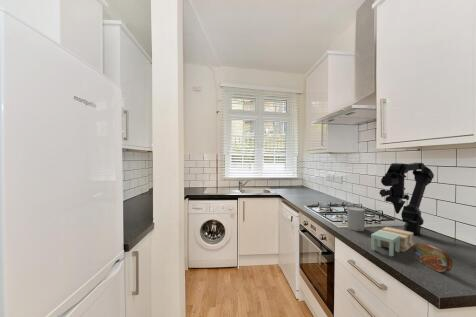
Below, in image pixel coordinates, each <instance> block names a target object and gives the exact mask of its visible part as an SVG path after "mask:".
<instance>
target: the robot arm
mask: <svg viewBox="0 0 476 317" xmlns="http://www.w3.org/2000/svg"><path fill="white" fill-rule="evenodd" d="M410 171H412V174H413V176H414V177H413V178H414V180H415V184H414V185H415V186H414V188H413V191H412V194H411V196H409V195H408V194H405V190H406V187H405V178H407V175H406V174H407V173H408V172H410ZM434 177H435V175H434V172H433V171H432V169H431V168H429V167H427V165H425V164H424V163H422V162H412V163H402V162H401V163H399V162H397V163H396V162H394V163H393V162H391V164H390V166H389V167H388V169H387V171H386V173H385V174H384V176H382V177H381V180H380V182H381V185H382V186H384V187H389V189H387V190H386V189H384V188H383V189H380V190H379V195H380V196H381V198H384V197H385V202H388V203H391V204H392V205H393V209H394V211H395V214H396V215H397V214H398V215H399V214H401V220H402V221H403V222H405V223H404V227H403V228H404V229H403V230H404V231H409V232H413V233H414V235H415V236H416V235H417V236H422V235H423V234H422V233H421V226H423V224H424V222H425V220H424V219H423V217H422V216H421V215H422V212H421V209H420V205H421V203H422V199H423V197H424V194H425V190H426V187H427V186H428V185H429V184H431V183H432V180H433V179H434ZM405 200H406V201H405ZM407 201H409V203H408V204H407V205H405V203H406V202H407ZM401 210H402V211H401ZM400 212H401V213H400Z"/></svg>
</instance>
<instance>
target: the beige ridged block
mask: <svg viewBox="0 0 476 317" xmlns="http://www.w3.org/2000/svg"><path fill="white" fill-rule="evenodd" d="M377 231H382V232H386V233H391V234H395V235H399V236H400V252H402V253H405V252H406V251H408V250H409V249H410V248H412V247H414V233H413V232H409V231H404V229H400V228H399V229H398V228H395V227H390V226H385V227H383V228H380V229H379V230H376V231H375V232H377ZM377 244H378V239H376V241H375V245H377ZM382 247H383V248H388V249H389V242H386V241H382ZM394 251H395V242H394Z"/></svg>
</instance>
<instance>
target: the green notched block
mask: <svg viewBox="0 0 476 317" xmlns="http://www.w3.org/2000/svg"><path fill="white" fill-rule="evenodd" d="M376 231H377V232H376ZM376 231H375V232H373V233H371V234H370V235H371V236H370V251H376V245H377V247H379V248H382V247H383V246H382V241H386V242H389V248H388V256H389V257H392V256H393V257H394V256H395V254H394V253H395V252H396V253H400V252H401V251H400V236H399V235H395V234H391V233H386V232H382V231H378V230H376ZM376 239H378V244H376ZM394 242H395V250H394Z"/></svg>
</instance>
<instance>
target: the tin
mask: <svg viewBox="0 0 476 317" xmlns="http://www.w3.org/2000/svg"><path fill="white" fill-rule="evenodd" d="M412 250H413V251H412V252H413V255H414V258H415V259H416V260H417V262H419V263H420V262H421V263H420V264H422V263H423V264H422V265H424V264H425V265H424V266H426V267H428V268H430V269H431V268H432V270H433V269H434V270H433V271H435V270H436V272H437V271H438V273H448V272H450V271H451V270H452V268H453V260H452V258H451V256H450V255H449V253H448V252H446V251H445V250H443V249H440V248H438V247H437V246H433V245H431V244H428V243H426V242H417V243H415V244H413V248H412Z"/></svg>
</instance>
